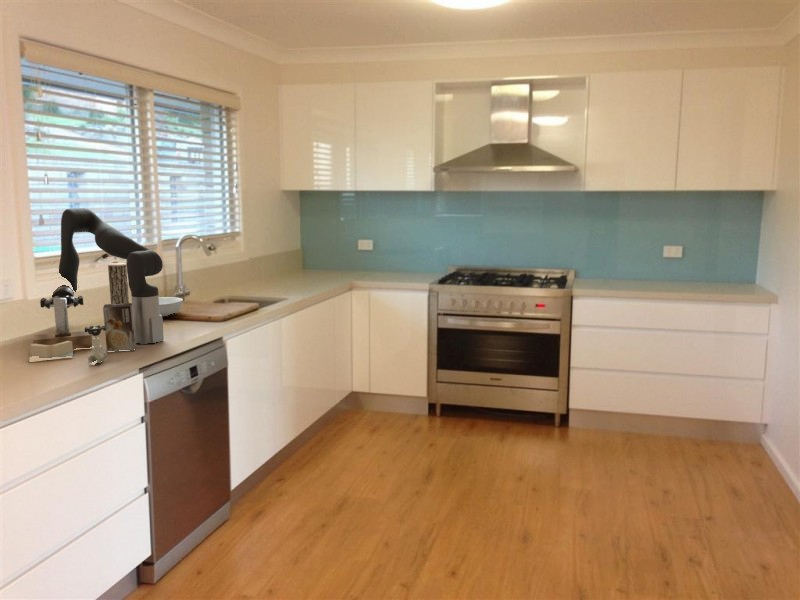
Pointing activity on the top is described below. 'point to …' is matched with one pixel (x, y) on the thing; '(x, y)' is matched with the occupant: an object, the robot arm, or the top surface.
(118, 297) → the wooden log
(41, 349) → the v block
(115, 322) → the coffee box
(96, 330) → the valve
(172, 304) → the serving bowl
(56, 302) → the axle
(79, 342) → the wooden block with hole
